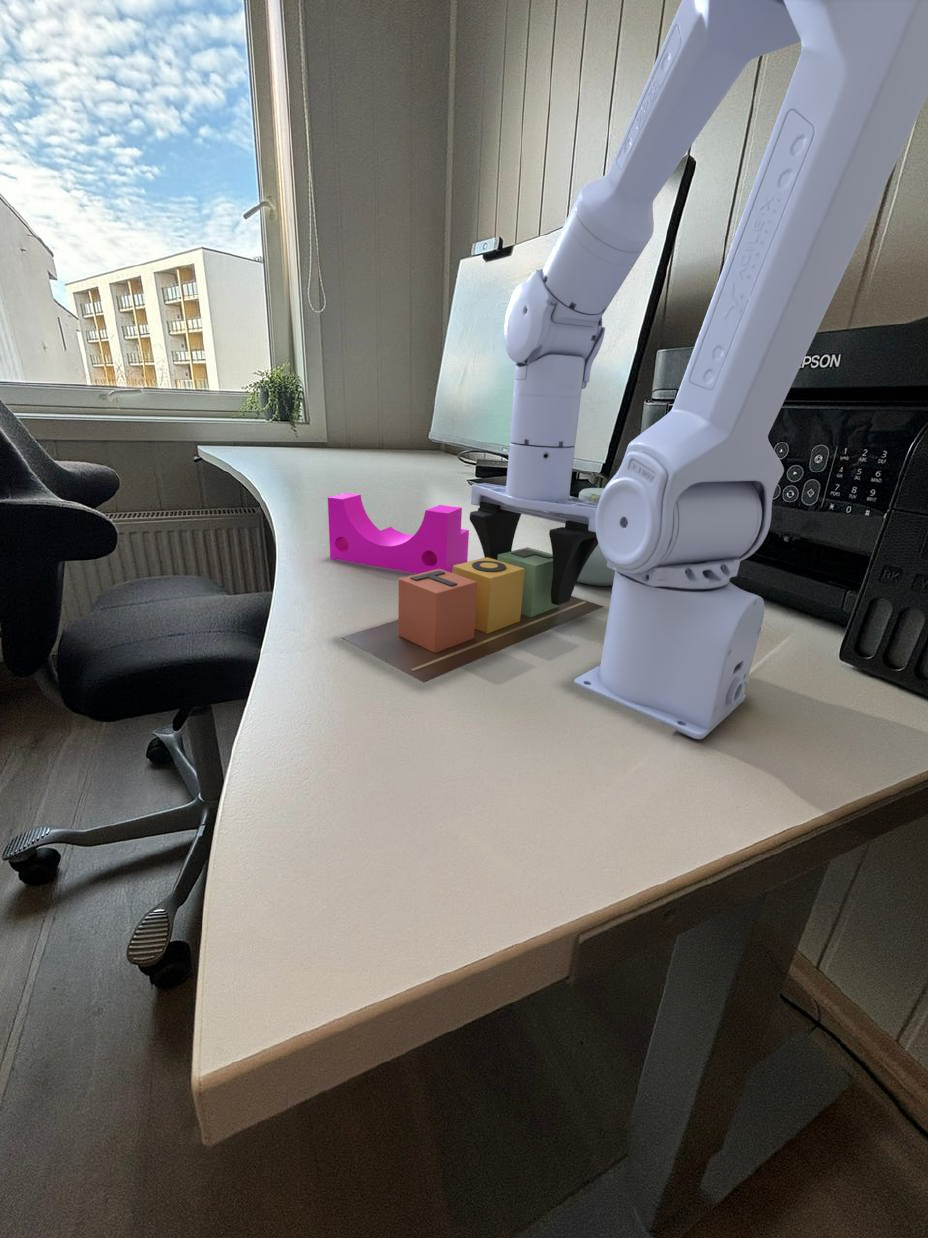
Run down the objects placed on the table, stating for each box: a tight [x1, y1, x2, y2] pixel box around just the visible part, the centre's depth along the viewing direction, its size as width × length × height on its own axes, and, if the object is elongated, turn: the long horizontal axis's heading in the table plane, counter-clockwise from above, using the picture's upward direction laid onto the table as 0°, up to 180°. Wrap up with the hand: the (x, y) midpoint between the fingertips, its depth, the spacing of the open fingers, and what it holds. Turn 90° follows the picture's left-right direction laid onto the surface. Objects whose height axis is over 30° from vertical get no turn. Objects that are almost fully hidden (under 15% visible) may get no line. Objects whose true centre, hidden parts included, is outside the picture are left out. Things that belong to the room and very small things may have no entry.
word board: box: [341, 595, 604, 683], centre depth 51 cm, size 10×24×1 cm, turn 136°
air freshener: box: [576, 487, 615, 587], centre depth 63 cm, size 11×8×10 cm
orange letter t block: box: [397, 569, 477, 653], centre depth 46 cm, size 4×4×5 cm
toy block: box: [327, 492, 470, 574], centre depth 66 cm, size 15×6×8 cm, turn 68°
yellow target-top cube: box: [452, 557, 525, 634], centre depth 50 cm, size 4×4×5 cm
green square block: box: [498, 546, 559, 617], centre depth 54 cm, size 4×4×5 cm
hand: (527, 591), depth 54 cm, fingers open, 7 cm apart
